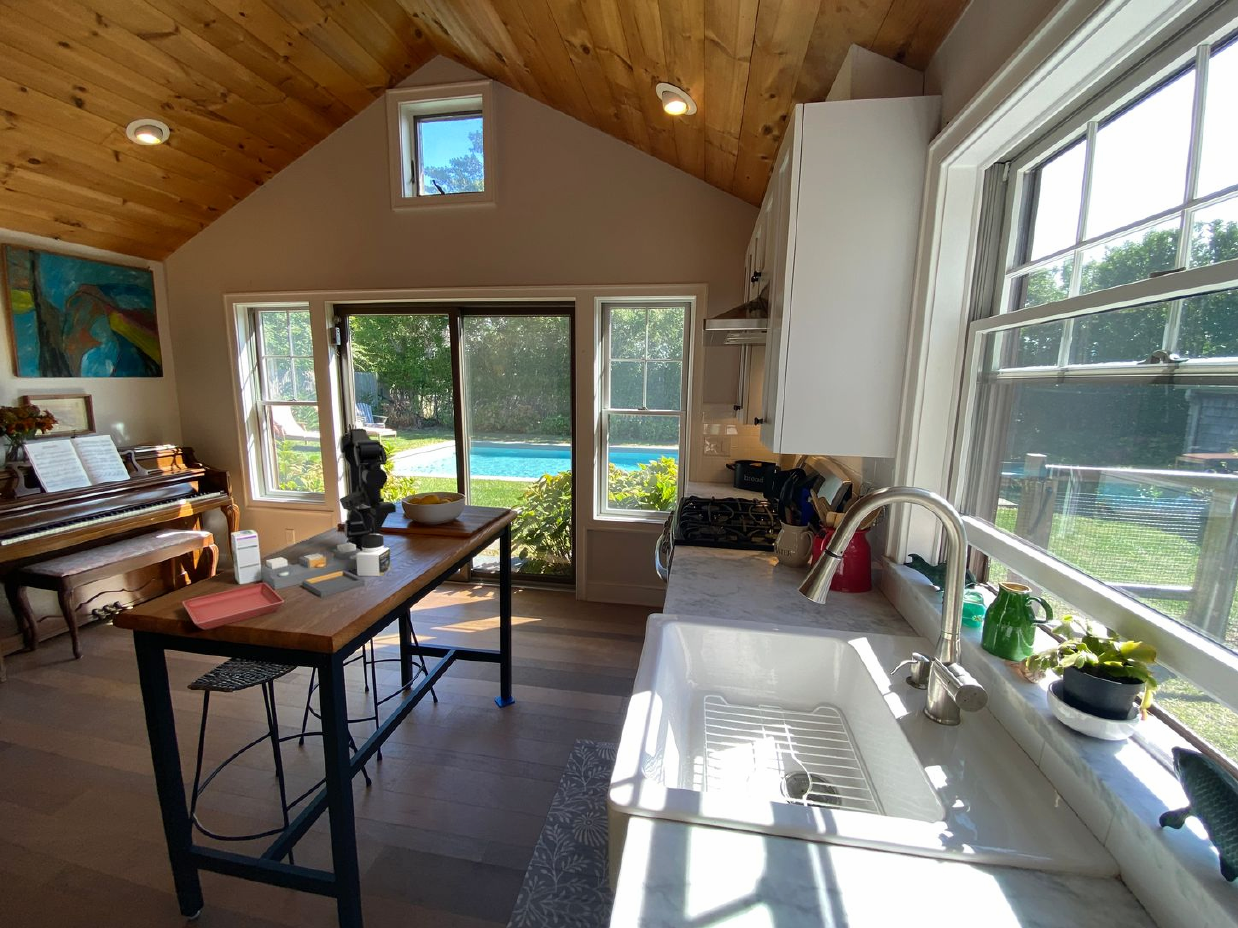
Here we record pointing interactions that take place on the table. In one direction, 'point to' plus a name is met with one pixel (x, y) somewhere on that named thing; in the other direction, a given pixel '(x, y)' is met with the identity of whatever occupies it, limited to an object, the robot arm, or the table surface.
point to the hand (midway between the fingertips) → (372, 531)
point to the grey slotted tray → (309, 569)
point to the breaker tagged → (313, 556)
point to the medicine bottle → (373, 556)
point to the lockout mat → (333, 583)
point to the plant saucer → (232, 605)
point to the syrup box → (246, 556)
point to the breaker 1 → (276, 563)
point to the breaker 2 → (346, 547)
